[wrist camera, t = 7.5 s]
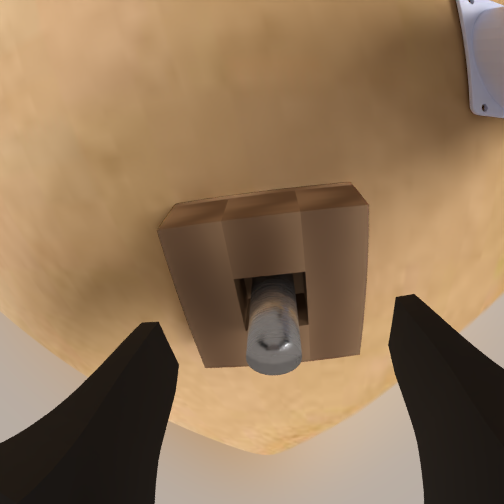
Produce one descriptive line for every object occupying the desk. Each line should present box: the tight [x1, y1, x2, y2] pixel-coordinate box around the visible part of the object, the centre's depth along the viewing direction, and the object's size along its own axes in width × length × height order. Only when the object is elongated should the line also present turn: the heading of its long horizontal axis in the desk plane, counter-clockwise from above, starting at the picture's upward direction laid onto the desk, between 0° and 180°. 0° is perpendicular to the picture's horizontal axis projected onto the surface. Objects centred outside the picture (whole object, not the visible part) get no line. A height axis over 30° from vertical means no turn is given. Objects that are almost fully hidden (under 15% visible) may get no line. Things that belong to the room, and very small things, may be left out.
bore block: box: [157, 182, 369, 368], centre depth 18 cm, size 10×10×4 cm
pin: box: [246, 273, 302, 375], centre depth 16 cm, size 2×2×7 cm
